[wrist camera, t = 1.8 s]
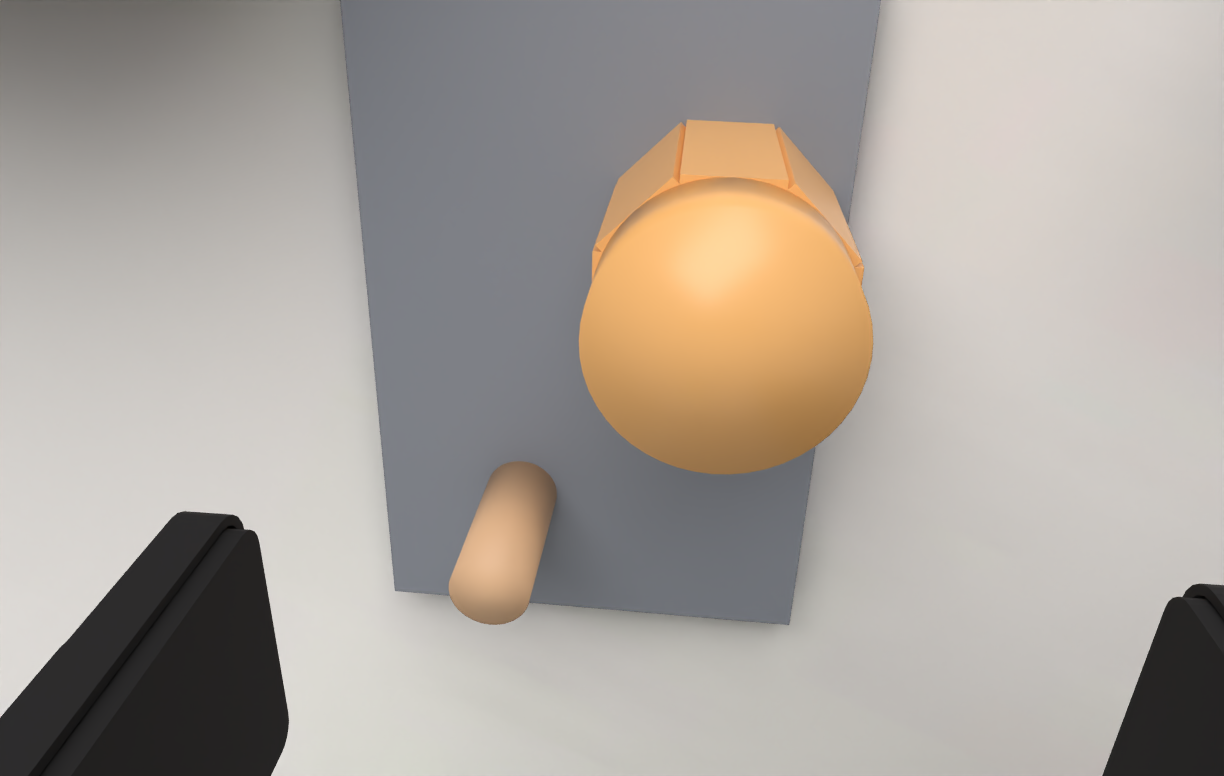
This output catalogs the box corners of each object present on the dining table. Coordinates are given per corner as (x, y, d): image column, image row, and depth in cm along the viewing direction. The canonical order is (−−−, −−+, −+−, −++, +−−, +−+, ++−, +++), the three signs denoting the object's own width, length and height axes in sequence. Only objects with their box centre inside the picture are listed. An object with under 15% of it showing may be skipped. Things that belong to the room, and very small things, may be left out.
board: (877, -38, 21) (927, -19, 16) (786, 598, 30) (801, 742, 25) (353, -57, 22) (247, -45, 17) (406, 566, 30) (344, 699, 25)
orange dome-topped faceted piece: (844, 127, 22) (895, 216, 16) (815, 335, 24) (850, 485, 18) (618, 116, 22) (580, 198, 16) (611, 321, 25) (577, 463, 18)
